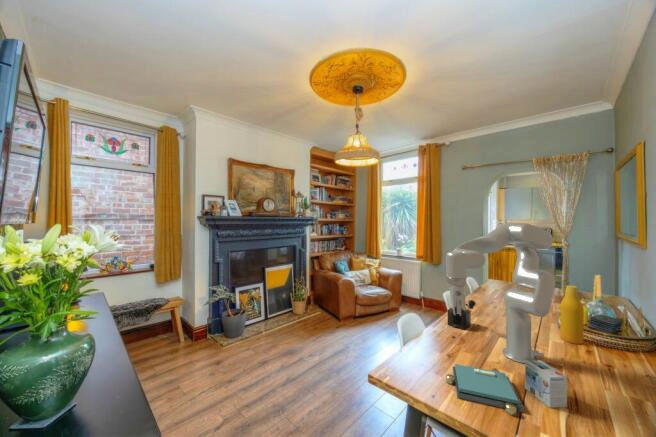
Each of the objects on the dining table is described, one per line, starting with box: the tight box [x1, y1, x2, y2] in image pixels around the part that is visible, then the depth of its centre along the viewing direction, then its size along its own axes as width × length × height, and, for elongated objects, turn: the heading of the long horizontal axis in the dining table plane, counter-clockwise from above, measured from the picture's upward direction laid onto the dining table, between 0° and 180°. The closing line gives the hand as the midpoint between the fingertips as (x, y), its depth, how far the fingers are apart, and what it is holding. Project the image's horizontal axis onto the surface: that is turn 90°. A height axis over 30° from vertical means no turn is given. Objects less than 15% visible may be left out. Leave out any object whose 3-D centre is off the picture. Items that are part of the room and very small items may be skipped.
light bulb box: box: [524, 360, 568, 408], centre depth 96 cm, size 11×7×11 cm, turn 5°
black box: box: [447, 299, 476, 330], centre depth 158 cm, size 16×11×18 cm
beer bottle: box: [559, 284, 585, 345], centre depth 140 cm, size 9×9×29 cm
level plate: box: [454, 363, 518, 404], centre depth 100 cm, size 18×17×3 cm
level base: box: [445, 366, 524, 417], centre depth 101 cm, size 23×24×2 cm
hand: (457, 323), depth 112 cm, fingers closed
